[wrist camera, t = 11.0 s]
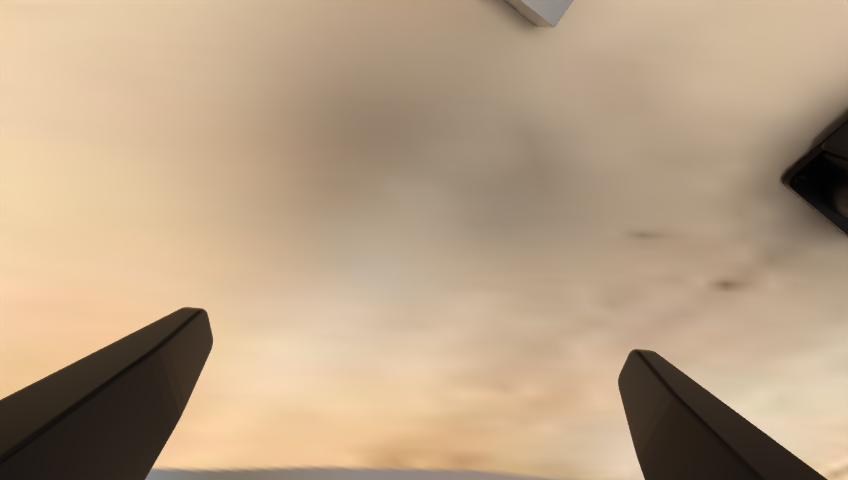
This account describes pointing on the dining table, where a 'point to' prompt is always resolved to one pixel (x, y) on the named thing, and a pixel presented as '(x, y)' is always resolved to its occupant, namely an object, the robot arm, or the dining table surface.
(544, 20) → the tray
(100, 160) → the dining table surface
